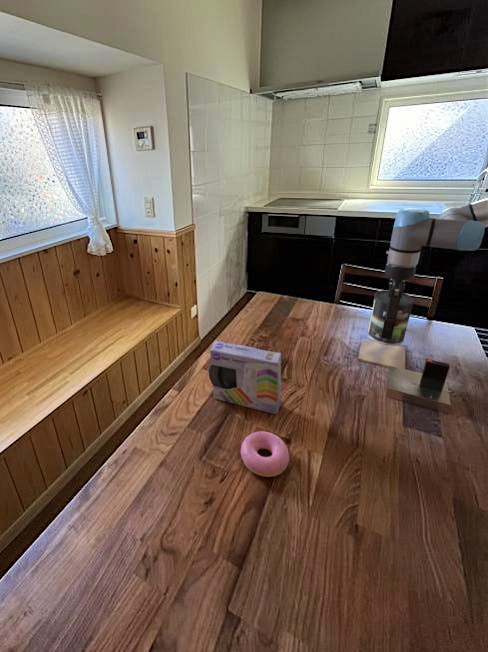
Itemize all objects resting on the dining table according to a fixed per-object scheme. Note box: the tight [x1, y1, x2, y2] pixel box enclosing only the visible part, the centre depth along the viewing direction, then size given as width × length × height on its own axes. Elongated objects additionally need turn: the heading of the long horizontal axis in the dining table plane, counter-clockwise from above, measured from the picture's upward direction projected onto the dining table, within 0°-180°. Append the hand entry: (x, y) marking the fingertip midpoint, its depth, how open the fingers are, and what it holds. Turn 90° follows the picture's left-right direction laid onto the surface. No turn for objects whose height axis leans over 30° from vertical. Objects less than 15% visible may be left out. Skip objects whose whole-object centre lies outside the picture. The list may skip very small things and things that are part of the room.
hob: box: [385, 366, 452, 415], centre depth 93 cm, size 15×11×3 cm
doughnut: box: [240, 430, 290, 478], centre depth 77 cm, size 11×11×4 cm
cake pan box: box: [208, 340, 282, 415], centre depth 91 cm, size 19×5×18 cm, turn 65°
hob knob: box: [420, 358, 451, 391], centre depth 90 cm, size 5×2×8 cm, turn 60°
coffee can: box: [367, 289, 415, 346], centre depth 104 cm, size 10×10×14 cm
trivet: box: [357, 337, 406, 369], centre depth 110 cm, size 13×13×1 cm
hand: (386, 329), depth 106 cm, fingers closed on coffee can, 10 cm apart
